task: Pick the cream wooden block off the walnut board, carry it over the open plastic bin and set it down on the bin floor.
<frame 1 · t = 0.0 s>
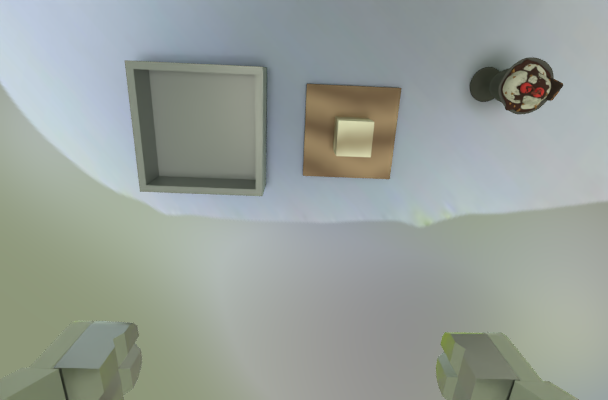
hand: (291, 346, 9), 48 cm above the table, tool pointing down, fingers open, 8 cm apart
walnut board: (349, 132, 55), on the table
sundae: (485, 84, 53), on the table
bin: (208, 126, 55), on the table
cream block: (350, 133, 54), point 1 cm above the table, touching walnut board
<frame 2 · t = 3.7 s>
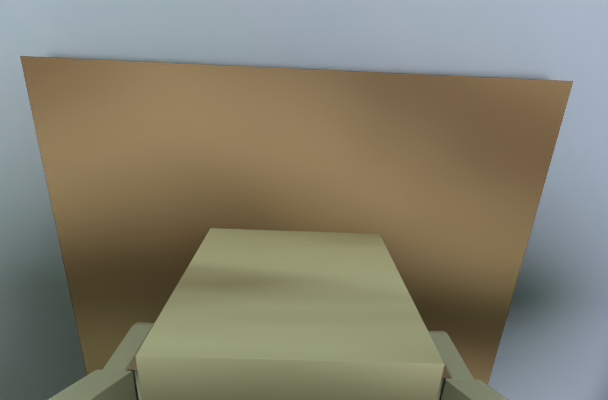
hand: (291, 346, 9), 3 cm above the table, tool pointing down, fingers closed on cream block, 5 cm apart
walnut board: (293, 284, 12), on the table
cream block: (292, 302, 11), point 1 cm above the table, touching gripper, walnut board
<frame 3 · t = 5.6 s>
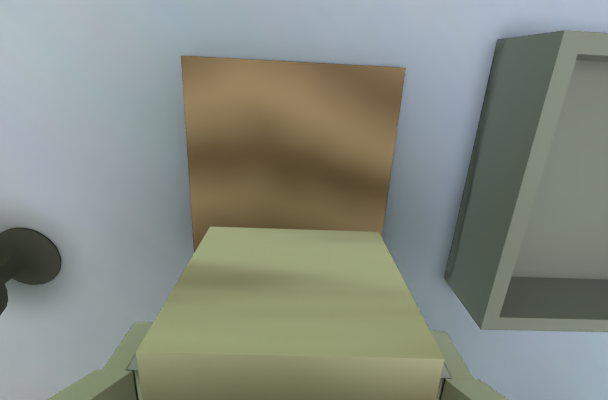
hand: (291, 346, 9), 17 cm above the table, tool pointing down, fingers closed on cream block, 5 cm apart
walnut board: (290, 166, 25), on the table
sundae: (30, 254, 27), on the table
bin: (585, 178, 26), on the table
cream block: (292, 300, 11), point 15 cm above the table, touching gripper
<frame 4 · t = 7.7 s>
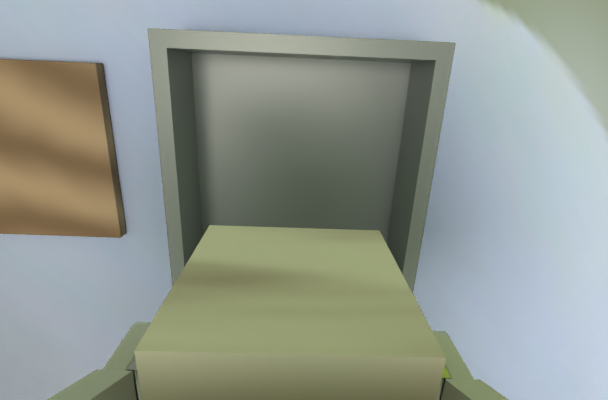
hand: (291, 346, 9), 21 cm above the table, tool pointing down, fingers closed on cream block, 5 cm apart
walnut board: (28, 151, 29), on the table
bin: (298, 162, 29), on the table
cream block: (292, 299, 11), point 19 cm above the table, touching gripper
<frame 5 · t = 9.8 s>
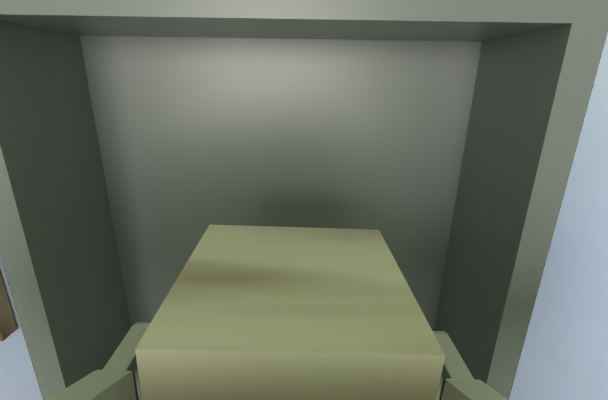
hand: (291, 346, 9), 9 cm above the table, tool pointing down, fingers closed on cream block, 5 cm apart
bin: (283, 216, 18), on the table
cream block: (292, 299, 11), point 7 cm above the table, touching gripper
when the fingers open (4 cm above the table, at t = 11.6 s): cream block drops 1 cm, resting on bin.
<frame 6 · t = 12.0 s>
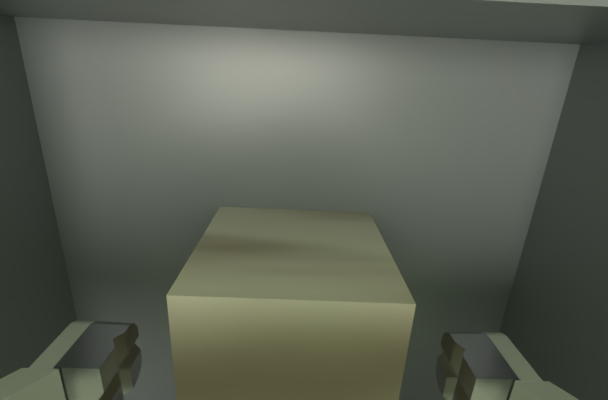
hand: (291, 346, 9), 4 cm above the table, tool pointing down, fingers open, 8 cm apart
bin: (293, 262, 14), on the table
cream block: (292, 274, 13), point 1 cm above the table, touching bin
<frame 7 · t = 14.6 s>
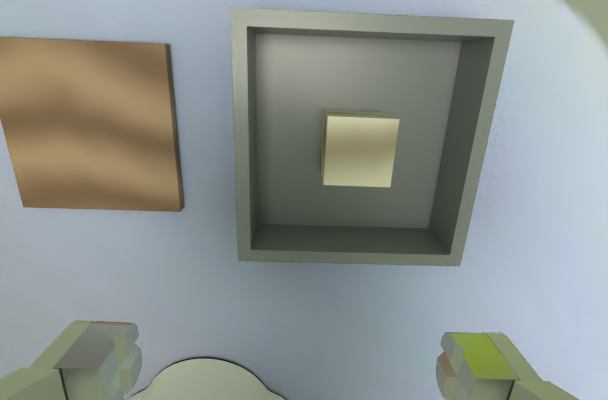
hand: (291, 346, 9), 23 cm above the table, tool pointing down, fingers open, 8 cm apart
walnut board: (95, 129, 30), on the table
bin: (349, 138, 31), on the table
cream block: (350, 139, 30), point 1 cm above the table, touching bin
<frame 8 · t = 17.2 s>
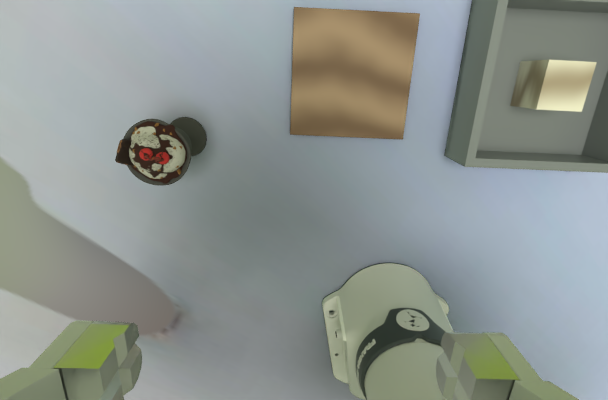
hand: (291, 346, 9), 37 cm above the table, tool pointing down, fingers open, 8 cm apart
walnut board: (350, 77, 42), on the table
sundae: (187, 136, 45), on the table
bin: (530, 85, 43), on the table
cream block: (535, 85, 42), point 1 cm above the table, touching bin
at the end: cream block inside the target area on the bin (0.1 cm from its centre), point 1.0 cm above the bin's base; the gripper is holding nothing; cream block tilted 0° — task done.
